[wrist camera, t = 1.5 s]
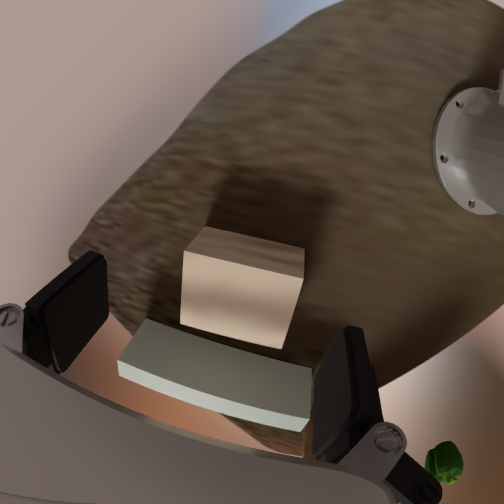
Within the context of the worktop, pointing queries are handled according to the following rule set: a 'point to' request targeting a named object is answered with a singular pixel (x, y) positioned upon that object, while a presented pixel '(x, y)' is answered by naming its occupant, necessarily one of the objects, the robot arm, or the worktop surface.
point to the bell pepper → (444, 462)
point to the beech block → (241, 286)
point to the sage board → (218, 376)
